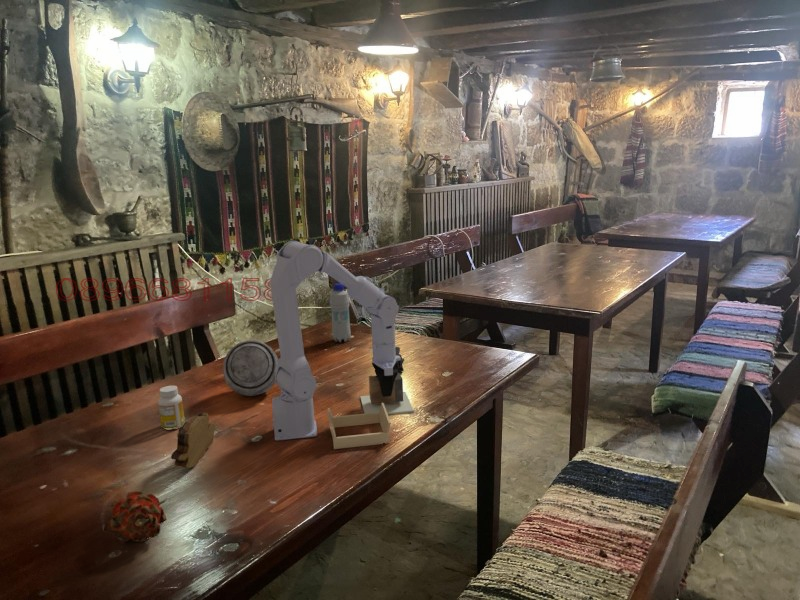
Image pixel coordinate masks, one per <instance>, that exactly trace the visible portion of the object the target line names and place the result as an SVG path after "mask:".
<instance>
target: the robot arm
mask: <svg viewBox="0 0 800 600" xmlns="http://www.w3.org/2000/svg"><path fill="white" fill-rule="evenodd" d="M317 272H319V273H325V274H326V275H328V276H329V277H331V278H332V279H333V280H335V281H336V282H338V283H341V284H342V285H344V288H345V287H346V292H347V293H348V296H349V298H351V299H353V300H354V301H355V302H357V304H360V305H361V306H362V307H364V308H365V310H366V312H367V313H368V314H371V315H370V319H371V321H370V322H371V325H370V326H371V340H372V343H371V344H372V347H371V348H372V358H371V360H372V361H371V365H372V367H373V369H374V373H375V376H376V375H377V377H378V379H379V382H380V386H381V391H382V395H383V397H386V396H391V395H392V390H393V385H394V381H395V378H396V376H397V375H398V370H397V369H394V370H393V366H394V365H395V363H396V361H400V360H401V358H400V356H396V351H395V347H396V330H395V329H396V328H395V326H396V324H395V323H396V317H397V315H398V314H399V313H398V312H399V311H400V310H399V309H400V305H398V302H397V300H396V298H395V297H393V296H391V295H389V294H385V290H384V288H381V287H378V286H376V285H375V284H374V283H373V282H372V280H373V279H371V278H370V277H369V276H366V275H365V276H363V275H358V276H355V275H354V274H353V273H351V272H350V271H349V270H348V269H347V268H346V267H344V266H343V265H342V264H341V263H339V261H337V260H336V259H335V258H334V257H333V256H331V255H330V254H329V253H328V252H326V251H324V250H323V249H320V248H319V247H318V246H317V245H314V244H307V243H303V242H300V241H298V240H290V241H288V242H286V243H284V245H283V246H282V247H281V248H280V249H279V250H278V251H277V252H276V262H275V266H274V268H273V271H272V274H271V277H270V280H269V285H270V293H271V300H272V305H273V306H272V307H273V314H274V319H275V329H276V333H277V334H276V335H277V340H278V347H279V348H278V349H279V355H280V357H278V360H277V371H276V374H275V381H276V382H275V383H276V385H277V386H278V387H279V388H280V395H278V396H274V397H272V399H271V401H272V402H271V404H272V405H271V407H272V408H271V409H272V419H273V420H272V429H274V431H273V432H274V433H273V434H274V440H275V441H285V440H293V439H294V440H295V439H305V438H314V437H317V436H318V428H317V421H316V420H315V414H314V413H315V412H314V411H315V410H314V400H313V395H314V394H315V391H316V389H317V381H316V378H315V376H314V375H313V373H312V370H311V366H310V363H309V362H308V360H307V358H306V356H305V349H304V342H303V335H302V328H301V319H300V313H299V311H300V310H299V304H298V297H297V289H298V287H299V286H300V285H301V284H302V282H304V281H305V280H306V279H308V278H309V277H311V276H312V275H314V274H317Z"/></svg>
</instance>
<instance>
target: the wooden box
mask: <svg viewBox="0 0 800 600" xmlns="http://www.w3.org/2000/svg"><path fill="white" fill-rule="evenodd" d="M326 409H327V415H328V416H327V417H328V423H329V431H330V434H331V436H332V437H331V438H332V444H333V450H338V449H347V448H356V447H367V446H375V445H383V443H385V444H390V435H389V434H390V433H389V432H390V428H391V423H392V422H391V420H390V415H388V414H387V411H386V408H385V405H384V403H381V407H380V411H379V412H376V413H366V414H365V413H358V414H357V413H355V414H346V415H337V416H333V414H332V411H331V408H330V407H328V408H326ZM372 424H380V428H381V431H380V432H371V433H362V434H354V435H343V436H337V435H336V428H344V427H345V428H346V427H353V426H362V425H363V426H365V425H372Z"/></svg>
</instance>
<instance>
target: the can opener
mask: <svg viewBox="0 0 800 600" xmlns="http://www.w3.org/2000/svg"><path fill="white" fill-rule="evenodd" d="M395 351H396V356H400V358H401V360H400V361H396V363H395V365H394V366H393V370H394V369H397V370H398V373H400V374H401V373H402V372H404V370H405V369H404V367H403V363H404V362H405V357H403V356H402V354H400V352H401V347H399V346H395Z"/></svg>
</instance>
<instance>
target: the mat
mask: <svg viewBox="0 0 800 600" xmlns="http://www.w3.org/2000/svg"><path fill="white" fill-rule="evenodd" d="M359 398H360V401H361V406H362V409H363V414H366V413H376V412H379V411H380V407H381V404H371V400H370V394H369V395H360V397H359ZM384 405H385V408H386V411H387V414H388V416H391V415H401V414H409V413H414V410H415V409H414V408H413V406H412V404H411V401H410V399H409V396H408V395H407V392H406V391H403V401H401V402H391V403H384Z"/></svg>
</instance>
